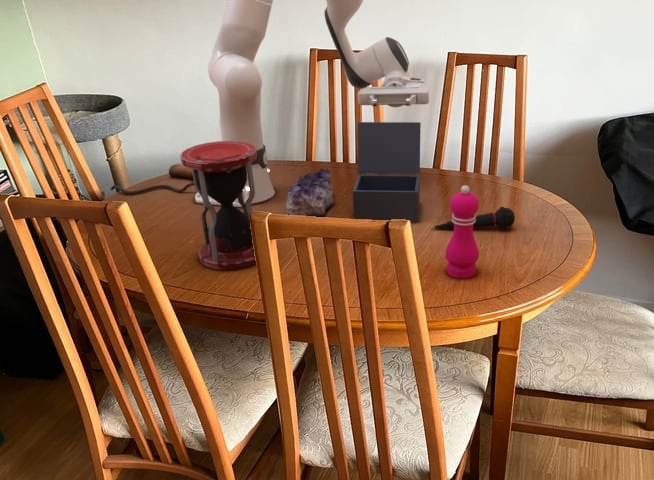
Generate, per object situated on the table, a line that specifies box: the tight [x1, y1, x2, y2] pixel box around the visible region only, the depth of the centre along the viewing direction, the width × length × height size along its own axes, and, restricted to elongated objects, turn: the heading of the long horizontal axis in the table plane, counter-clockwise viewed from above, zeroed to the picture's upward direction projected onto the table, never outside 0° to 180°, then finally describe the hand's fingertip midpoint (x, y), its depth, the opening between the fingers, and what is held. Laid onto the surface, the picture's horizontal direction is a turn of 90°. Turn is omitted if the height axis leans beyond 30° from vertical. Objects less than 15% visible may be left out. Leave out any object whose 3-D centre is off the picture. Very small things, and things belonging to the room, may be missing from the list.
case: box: [352, 174, 421, 223], centre depth 164 cm, size 13×17×8 cm
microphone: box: [434, 206, 516, 231], centre depth 155 cm, size 6×6×20 cm
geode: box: [285, 168, 335, 217], centre depth 169 cm, size 20×12×10 cm, turn 169°
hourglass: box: [179, 140, 257, 271], centre depth 140 cm, size 16×16×25 cm
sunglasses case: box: [168, 163, 194, 179], centre depth 193 cm, size 18×7×7 cm, turn 67°
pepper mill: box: [444, 184, 480, 279], centre depth 131 cm, size 7×7×20 cm
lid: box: [357, 121, 422, 175], centre depth 165 cm, size 13×17×1 cm
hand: (391, 103), depth 169 cm, fingers open, 8 cm apart
